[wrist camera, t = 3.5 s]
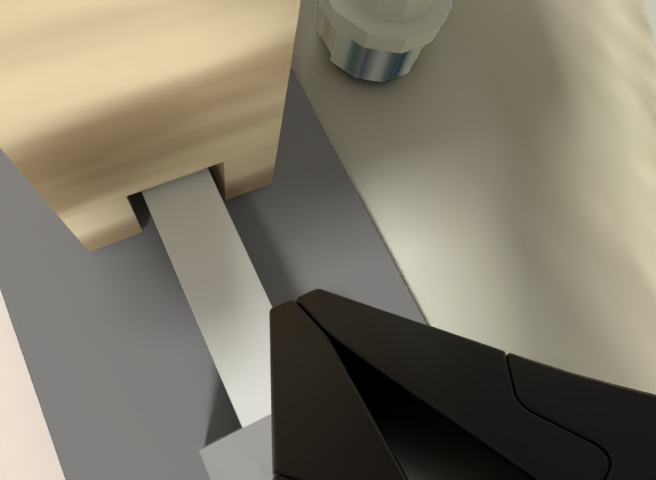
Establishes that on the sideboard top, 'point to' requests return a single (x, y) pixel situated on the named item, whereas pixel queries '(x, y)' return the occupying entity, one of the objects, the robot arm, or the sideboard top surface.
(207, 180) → the grey board
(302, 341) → the robot arm
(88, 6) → the notched wooden block
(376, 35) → the grey flashlight
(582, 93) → the sideboard top surface
